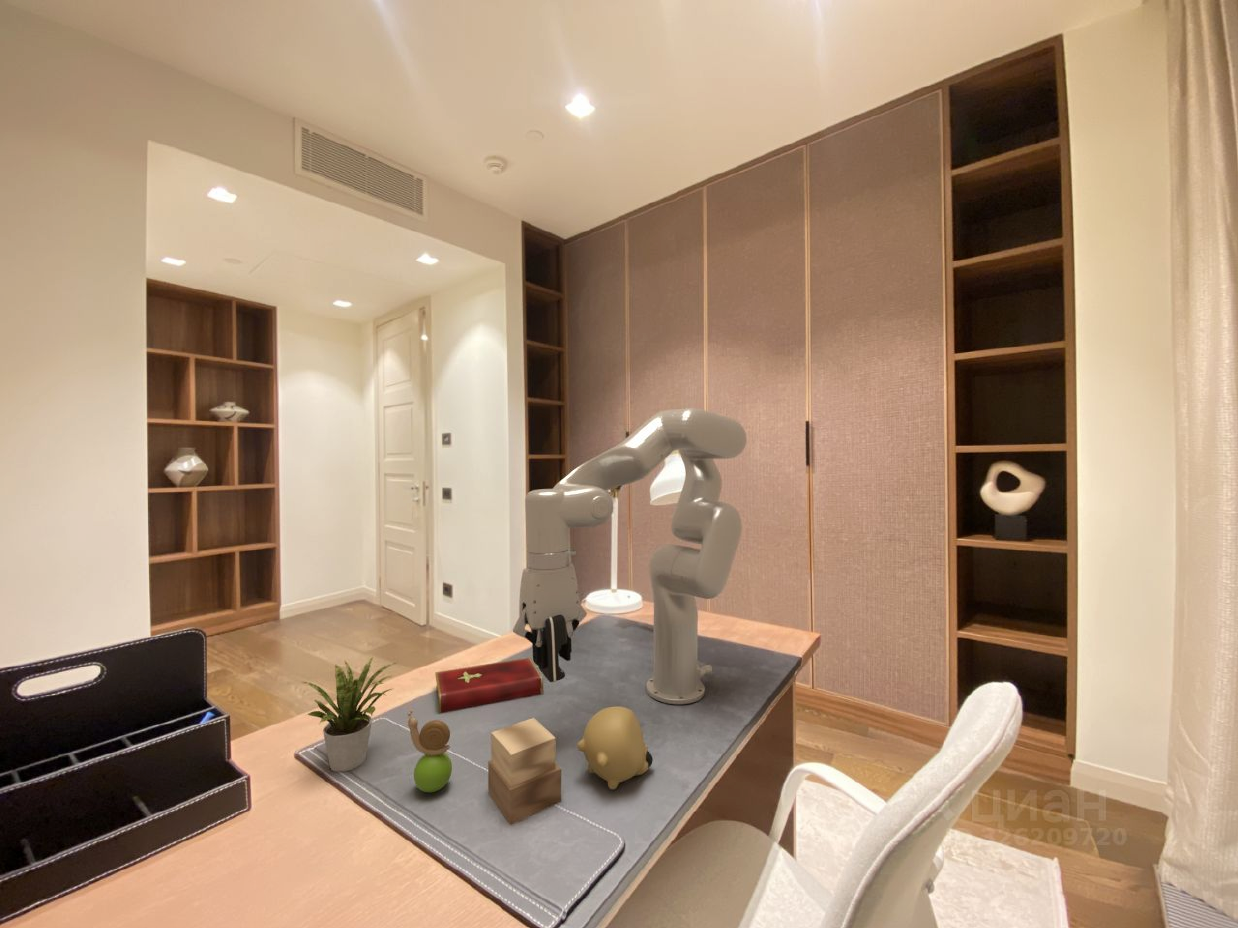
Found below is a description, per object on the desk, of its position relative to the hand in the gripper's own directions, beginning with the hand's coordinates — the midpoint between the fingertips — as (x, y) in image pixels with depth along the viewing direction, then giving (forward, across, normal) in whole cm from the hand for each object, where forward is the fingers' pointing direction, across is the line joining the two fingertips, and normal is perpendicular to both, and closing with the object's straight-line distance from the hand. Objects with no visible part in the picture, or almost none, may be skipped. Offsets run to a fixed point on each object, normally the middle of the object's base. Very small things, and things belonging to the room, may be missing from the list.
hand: (552, 660), depth 87 cm
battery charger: (+3, 0, 0) cm, 3 cm away
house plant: (+13, +30, -14) cm, 35 cm away
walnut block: (+14, +11, +10) cm, 20 cm away
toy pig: (+15, -3, +14) cm, 21 cm away
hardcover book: (+15, +3, -25) cm, 30 cm away
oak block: (+9, +11, +10) cm, 17 cm away
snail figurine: (+14, +22, 0) cm, 26 cm away
